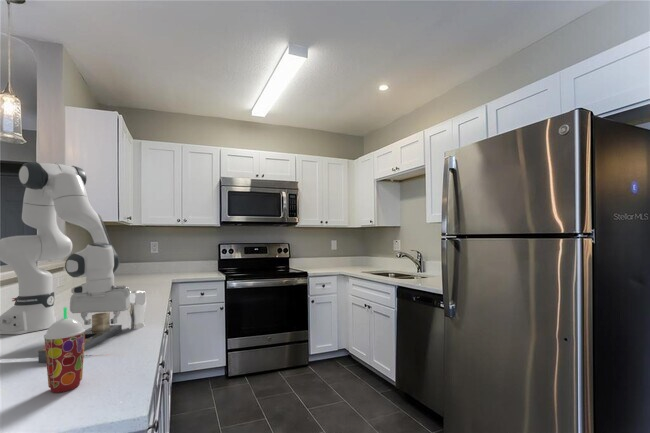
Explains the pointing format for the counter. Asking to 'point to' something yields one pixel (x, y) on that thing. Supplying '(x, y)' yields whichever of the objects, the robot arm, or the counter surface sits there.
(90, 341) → the socket rail
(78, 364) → the smoothie
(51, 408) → the counter surface
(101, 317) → the beech peg
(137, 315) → the beer glass
